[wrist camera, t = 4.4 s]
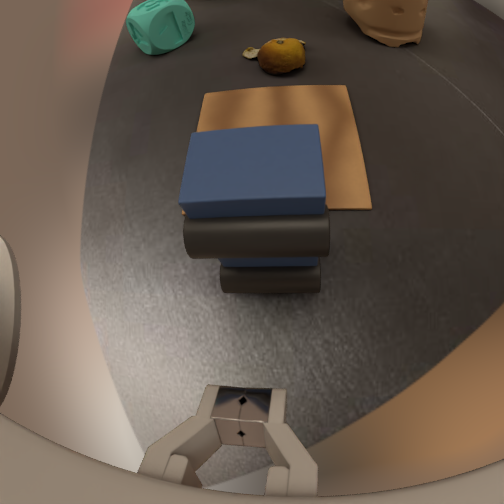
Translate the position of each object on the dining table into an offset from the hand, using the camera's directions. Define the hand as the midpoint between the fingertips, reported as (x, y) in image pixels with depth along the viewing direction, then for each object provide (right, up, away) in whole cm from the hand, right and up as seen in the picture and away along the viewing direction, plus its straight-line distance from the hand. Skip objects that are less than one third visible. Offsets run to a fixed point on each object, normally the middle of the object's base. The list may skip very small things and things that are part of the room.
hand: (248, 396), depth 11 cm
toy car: (+2, +5, +13) cm, 14 cm away
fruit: (+4, +30, +23) cm, 38 cm away
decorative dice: (-13, +39, +29) cm, 51 cm away
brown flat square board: (+2, +16, +17) cm, 24 cm away
